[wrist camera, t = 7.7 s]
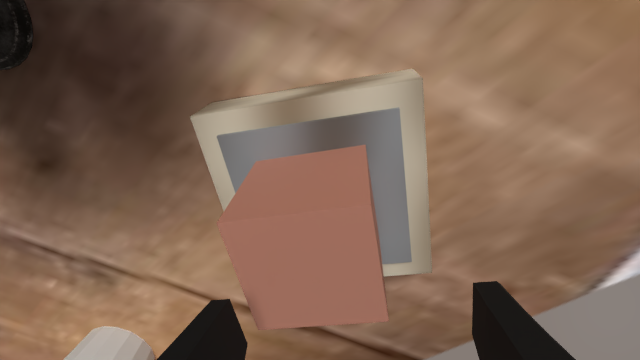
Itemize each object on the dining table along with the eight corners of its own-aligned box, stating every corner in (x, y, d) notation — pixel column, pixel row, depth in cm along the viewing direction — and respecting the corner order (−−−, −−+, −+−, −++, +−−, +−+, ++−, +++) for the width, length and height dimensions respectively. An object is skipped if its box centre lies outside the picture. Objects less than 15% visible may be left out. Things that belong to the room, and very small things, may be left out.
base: (412, 68, 16) (423, 79, 13) (423, 243, 20) (432, 275, 17) (211, 102, 17) (187, 118, 15) (261, 257, 21) (249, 289, 19)
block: (365, 144, 15) (370, 203, 10) (379, 238, 17) (388, 321, 12) (255, 161, 15) (216, 223, 11) (282, 248, 18) (258, 329, 13)
